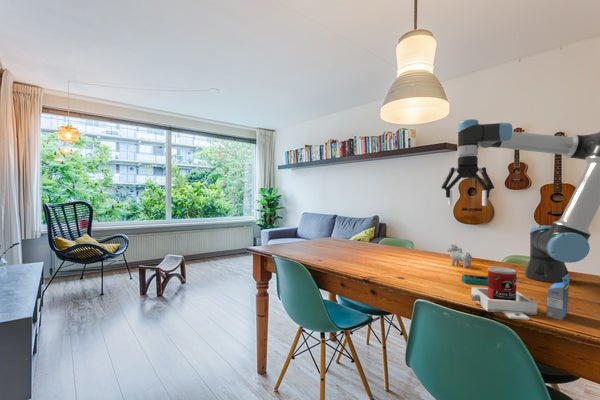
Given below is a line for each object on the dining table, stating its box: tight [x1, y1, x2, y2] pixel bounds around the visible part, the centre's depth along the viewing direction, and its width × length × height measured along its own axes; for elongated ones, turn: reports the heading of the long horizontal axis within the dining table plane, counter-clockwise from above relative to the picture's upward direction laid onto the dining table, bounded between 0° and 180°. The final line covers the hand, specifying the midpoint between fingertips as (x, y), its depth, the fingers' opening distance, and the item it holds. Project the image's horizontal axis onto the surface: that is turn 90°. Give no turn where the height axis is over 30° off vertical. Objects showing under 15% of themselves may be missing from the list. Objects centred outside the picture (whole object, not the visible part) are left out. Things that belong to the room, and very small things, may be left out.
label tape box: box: [545, 273, 570, 321], centre depth 89 cm, size 9×4×12 cm, turn 131°
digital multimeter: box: [461, 273, 488, 287], centre depth 122 cm, size 7×15×3 cm, turn 71°
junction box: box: [470, 286, 538, 321], centre depth 96 cm, size 17×22×4 cm
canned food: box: [487, 266, 517, 301], centre depth 96 cm, size 8×8×11 cm
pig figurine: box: [446, 243, 473, 269], centre depth 154 cm, size 5×13×11 cm, turn 28°
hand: (466, 205), depth 128 cm, fingers open, 13 cm apart
